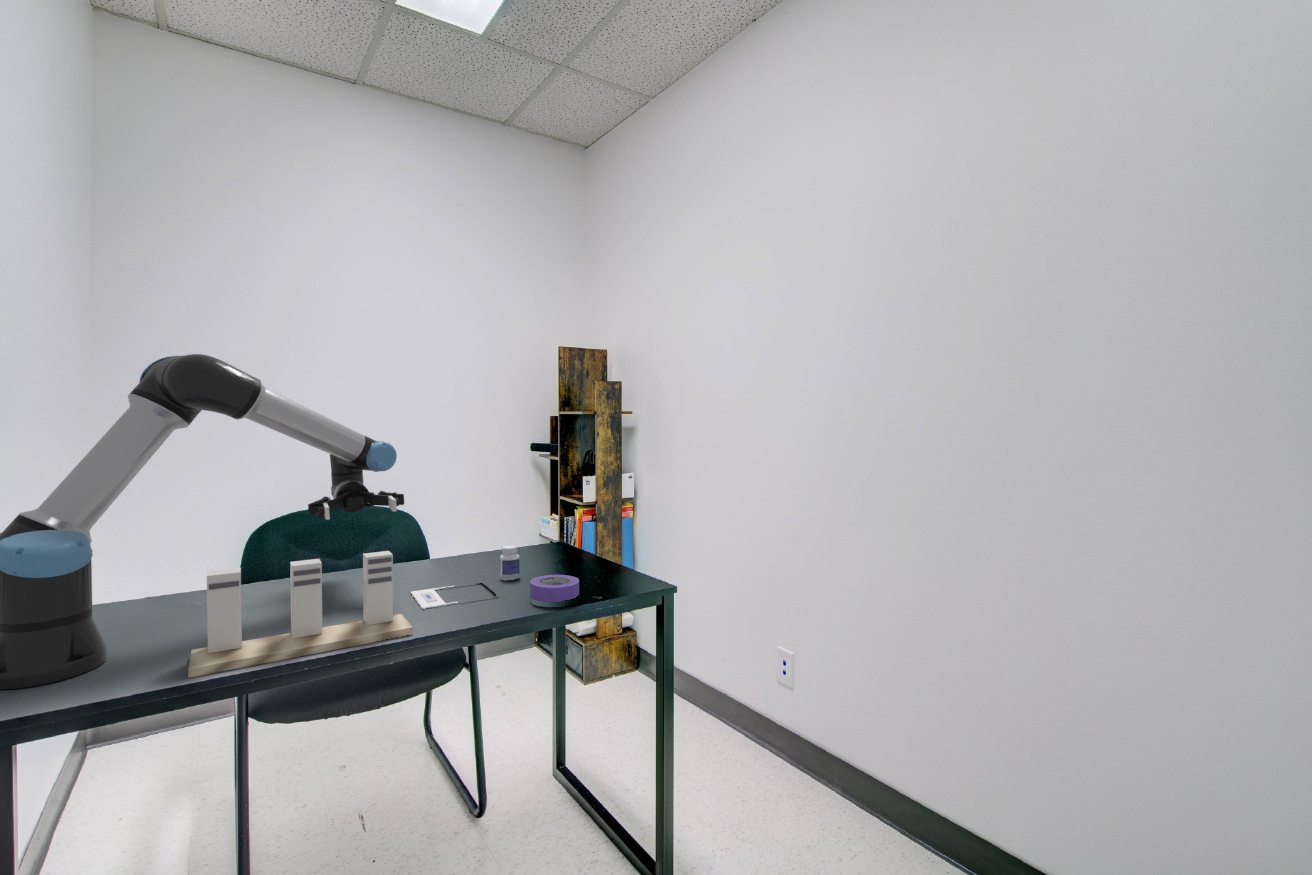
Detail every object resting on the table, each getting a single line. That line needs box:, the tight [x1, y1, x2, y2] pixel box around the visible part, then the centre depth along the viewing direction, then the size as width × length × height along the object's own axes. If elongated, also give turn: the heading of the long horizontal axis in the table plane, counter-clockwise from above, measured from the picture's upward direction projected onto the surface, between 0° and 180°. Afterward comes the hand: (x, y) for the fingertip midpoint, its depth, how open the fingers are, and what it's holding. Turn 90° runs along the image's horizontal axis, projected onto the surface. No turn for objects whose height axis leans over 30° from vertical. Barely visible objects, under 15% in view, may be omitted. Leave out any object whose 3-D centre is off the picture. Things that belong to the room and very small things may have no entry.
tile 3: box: [362, 550, 394, 625], centre depth 125 cm, size 5×4×14 cm
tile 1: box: [206, 567, 243, 653], centre depth 110 cm, size 5×4×14 cm
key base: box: [187, 613, 414, 679], centre depth 115 cm, size 36×10×2 cm, turn 125°
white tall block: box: [289, 558, 323, 638], centre depth 117 cm, size 5×4×14 cm
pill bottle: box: [499, 544, 521, 577], centre depth 164 cm, size 5×5×9 cm
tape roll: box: [529, 574, 580, 602], centre depth 145 cm, size 12×12×5 cm
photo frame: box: [410, 585, 458, 610], centre depth 148 cm, size 15×1×18 cm
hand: (361, 509), depth 134 cm, fingers open, 13 cm apart
